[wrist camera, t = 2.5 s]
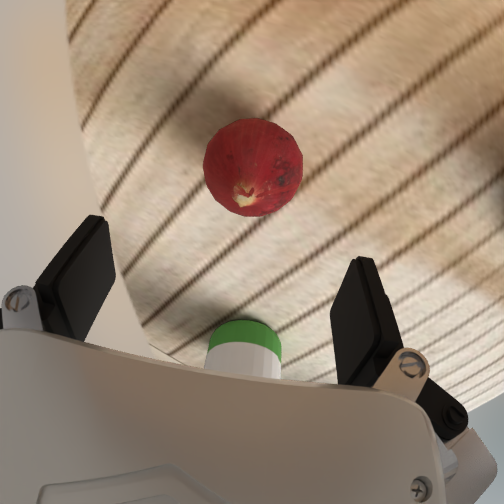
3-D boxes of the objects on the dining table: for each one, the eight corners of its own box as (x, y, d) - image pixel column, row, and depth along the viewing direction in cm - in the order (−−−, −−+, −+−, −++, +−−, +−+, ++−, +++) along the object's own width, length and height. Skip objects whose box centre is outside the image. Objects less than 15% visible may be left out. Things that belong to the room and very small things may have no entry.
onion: (298, 105, 19) (307, 140, 13) (300, 182, 23) (307, 248, 16) (211, 110, 20) (176, 148, 14) (221, 185, 23) (197, 250, 17)
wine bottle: (222, 359, 37) (184, 601, 13) (201, 317, 33) (142, 610, 9) (286, 355, 36) (270, 613, 12) (276, 312, 31) (250, 634, 7)
